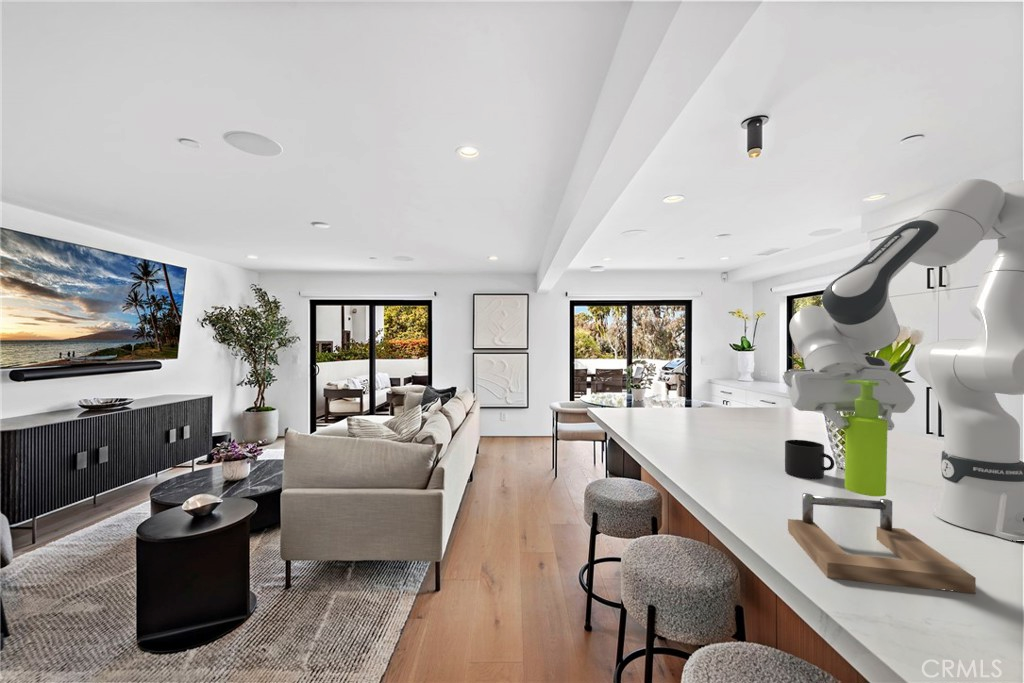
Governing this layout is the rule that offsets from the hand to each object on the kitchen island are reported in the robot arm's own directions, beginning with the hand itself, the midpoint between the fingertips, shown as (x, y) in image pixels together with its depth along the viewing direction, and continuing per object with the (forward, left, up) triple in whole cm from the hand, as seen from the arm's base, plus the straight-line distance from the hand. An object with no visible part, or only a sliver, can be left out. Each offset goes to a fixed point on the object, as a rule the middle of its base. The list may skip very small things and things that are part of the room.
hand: (866, 428), depth 80 cm
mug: (-9, -50, -23) cm, 56 cm away
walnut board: (0, +1, -23) cm, 23 cm away
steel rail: (0, -7, -21) cm, 22 cm away
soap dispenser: (0, -1, -12) cm, 12 cm away
